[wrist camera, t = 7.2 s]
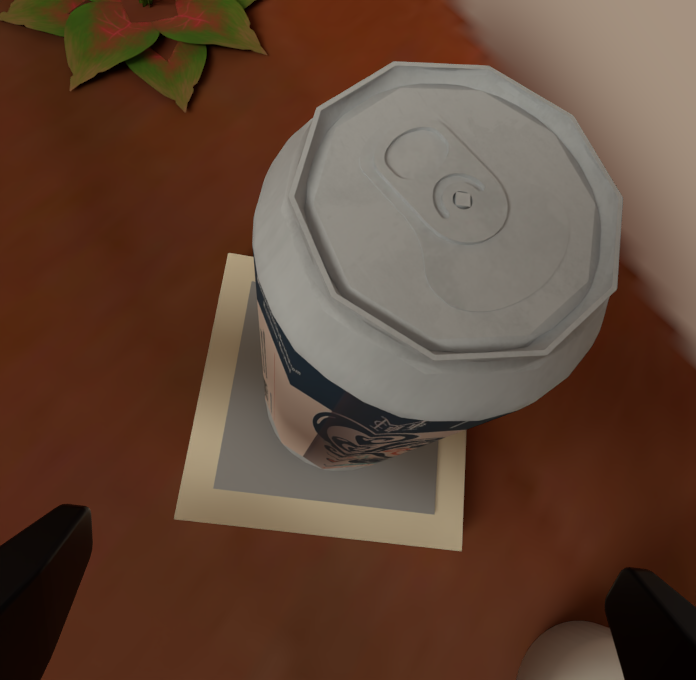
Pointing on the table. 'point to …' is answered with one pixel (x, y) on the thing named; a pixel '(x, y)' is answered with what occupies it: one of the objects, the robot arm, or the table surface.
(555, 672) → the white rounded cylinder
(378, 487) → the stand
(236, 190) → the table surface
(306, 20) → the table surface
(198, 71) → the lily flower
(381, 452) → the beer can
